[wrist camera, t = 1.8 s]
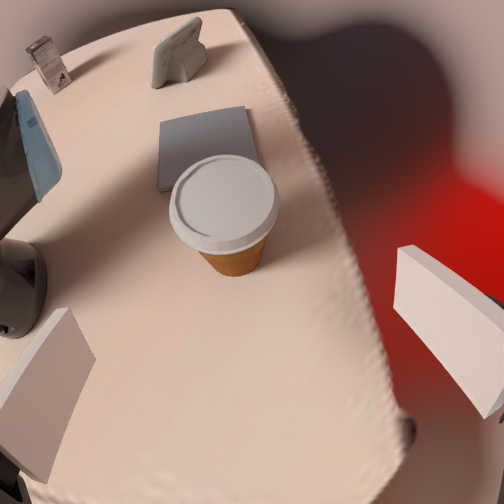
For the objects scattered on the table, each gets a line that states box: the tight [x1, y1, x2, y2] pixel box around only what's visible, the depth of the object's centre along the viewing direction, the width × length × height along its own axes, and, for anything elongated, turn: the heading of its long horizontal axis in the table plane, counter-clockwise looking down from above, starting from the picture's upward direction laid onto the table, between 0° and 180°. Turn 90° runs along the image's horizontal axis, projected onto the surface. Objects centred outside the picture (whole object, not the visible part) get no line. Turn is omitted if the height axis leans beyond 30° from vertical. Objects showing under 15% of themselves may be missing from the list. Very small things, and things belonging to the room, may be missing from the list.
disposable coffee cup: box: [169, 155, 280, 277], centre depth 29 cm, size 10×10×12 cm
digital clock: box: [150, 17, 207, 88], centre depth 46 cm, size 16×9×11 cm, turn 148°
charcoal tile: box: [158, 106, 260, 192], centre depth 41 cm, size 14×14×1 cm
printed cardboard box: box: [26, 36, 72, 95], centre depth 48 cm, size 9×6×16 cm
